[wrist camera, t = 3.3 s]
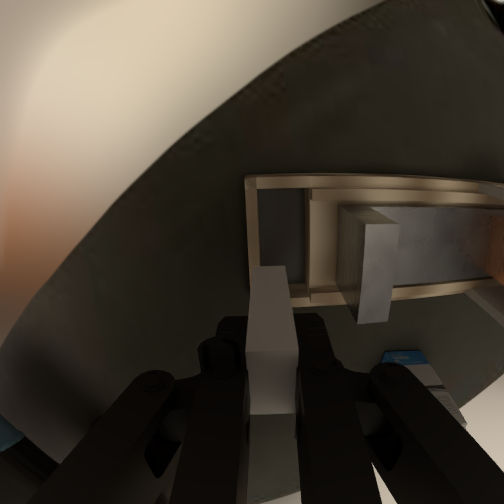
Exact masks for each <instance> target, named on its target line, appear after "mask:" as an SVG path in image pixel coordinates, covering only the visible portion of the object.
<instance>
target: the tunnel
mask: <svg viewBox="0 0 504 504" xmlns="http://www.w3.org/2000/svg"><path fill="white" fill-rule="evenodd" d="M478 192H479V193H482V194H486V195H489V196H492V197H496V198H499V199H502V200H504V188H501V187H497V186H493V185H489V184H484V183H479V188H478ZM464 293H465V294H466V295H467V296H469V297H470V298H471V299H472V300H473V301H475V302H476V303H477V304H478V305H479V306H480V307H482V308H483V309H484V310H485V311H486V312H487V313H488V314H490V315H491V316H492V317H493V318H494V319H495V320H496V321H497V322H498V323H500V324H501V325H502V326H503V327H504V285H498V286H491V287H484V288H476V289H469V290H465V291H464Z"/></svg>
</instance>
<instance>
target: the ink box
mask: <svg viewBox="0 0 504 504" xmlns="http://www.w3.org/2000/svg"><path fill="white" fill-rule="evenodd" d="M384 362H395V363H399V364H401V365H404V366H405V367H407V368H408V369H409V370H410V371H411V372H412V373H413V374H414V375H415V376H416V377H417V378H418V379H419V380H420V381H421V382H422V383H423V384H424V385H425V387H426V388H427V389H428V390H429V391H430V392H431V393H432V394H433V395H434V396H435V397H436V398H437V399H438V400H439V401H440V402H441V404H442V405H443V406H444V407H445V408H446V409H447V410H448V411H449V412H450V413H451V414H452V415H453V416H454V418H455V419H456V420H457V421H458V422H459V423H460V424H461V425H462V426H463V427H464V428H465V427H466V425H467V422H466V421H465V419H464V417H463V416H462V414H461V412H460V411H459V409H458V407H457V406H456V404H455V402H454V401H453V399H452V397H451V396H450V394H449V393H448V391H447V390H446V388H445V387H444V385H443V383H442V382H441V380H440V379H439V377H438V376H437V374H436V373H435V371H434V370H433V368H432V367H431V365H430V364H429V362H428V361H427V359H426V358H425V356H424V355H423V354H422V352H421V351H391V352H385V353H384V356H383V359H382V361H381V363H384ZM465 430H466V428H465Z"/></svg>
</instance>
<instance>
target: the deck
mask: <svg viewBox="0 0 504 504" xmlns="http://www.w3.org/2000/svg"><path fill="white" fill-rule="evenodd" d="M479 183H484V184H489V185H493V186H497V187H501V188H504V183H497V182H488V181H479V180H469V179H458V178H446V177H432V176H416V175H396V174H367V173H284V174H254V175H246V176H245V198H246V218H247V237H248V257H249V276H250V293H251V282H252V270H253V267H255V266H285V269H286V275H287V281H288V287H289V293H290V299H291V305H292V307H308V306H326V305H342V304H346V302H345V300H344V298H343V296H342V294H341V292H340V290H339V289H338V287H337V285H336V271H337V249H338V214H339V205H439V206H469V207H491V208H504V200H502V199H499V198H496V197H492V196H489V195H486V194H482V193H479V192H478V188H479ZM498 285H503V284H502V283H500V282H499V281H497V280H496V279H495V278H493V277H492V276H488V277H479V278H470V279H460V280H450V281H440V282H429V283H417V284H405V285H393V290H392V297H391V301H392V300H403V299H413V298H423V297H432V296H441V295H449V294H457V293H464V291H465V290H469V289H476V288H484V287H491V286H498Z"/></svg>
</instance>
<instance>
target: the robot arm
mask: <svg viewBox="0 0 504 504" xmlns="http://www.w3.org/2000/svg"><path fill="white" fill-rule="evenodd" d="M197 350H198V355H199V361H200V367H201V373H200V374H198V375H196V376H194V377H190V378H185V379H180V380H175V379H174V377H173V376H172V375H171V374H170V373H168V372H166V371H162V370H152V371H147V372H144V373H142V374H140V375H139V376H138V377H136V378H135V379H134V380H133V381H132V383H131V384H130V385H129V386H128V387H127V388H126V389H125V391H124V392H123V393H122V394H121V395H120V396H119V397H118V399H117V400H116V401H115V402H114V403H113V404H112V405H111V407H110V408H109V409H108V410H107V411H106V412H105V413H104V415H103V416H102V417H101V418H98V419H97V420H95V421H94V422H93V424H92V426H91V428H90V430H89V432H88V433H87V434H86V435H85V436H84V437H83V439H82V440H81V441H80V442H79V443H78V444H77V446H76V447H75V448H74V449H73V450H72V451H71V452H70V454H69V455H68V456H67V457H66V458H65V459H64V461H63V462H62V463H61V464H59V463H57V462H56V461H55V460H53V459H52V458H51V457H49V456H48V455H47V454H46V453H45V452H43V451H42V450H41V449H40V448H38V447H37V446H36V445H35V444H34V443H33V442H31V441H30V440H29V439H28V438H27V437H26V436H25V434H24V433H23V432H21V431H19V430H17V429H16V428H15V427H14V426H13V425H12V424H11V423H10V422H8V421H7V420H6V419H5V418H4V417H3V416H2V415H1V414H0V504H246V503H247V484H248V465H249V445H250V414H288V413H295V410H296V426H295V439H296V438H297V448H298V461H299V474H300V488H301V503H302V504H382V501H381V497H380V493H379V489H378V485H377V481H376V477H375V474H374V469H373V466H372V463H373V465H374V467H375V468H376V470H377V472H378V473H379V475H380V476H381V478H382V480H383V481H384V483H385V484H386V486H387V488H388V489H389V491H390V493H391V494H392V496H393V497H394V499H395V501H396V503H397V504H504V472H503V471H502V470H501V469H500V468H499V466H498V465H497V464H496V463H495V462H494V461H493V460H492V458H490V456H489V455H488V454H487V453H486V452H485V451H484V450H483V448H482V447H481V446H480V445H479V444H478V443H477V442H476V441H475V439H474V438H473V437H472V436H471V435H470V434H469V433H468V432H467V431H466V430H465V428H464V427H463V426H462V425H461V424H460V423H459V422H458V421H457V420H456V419H455V418H454V416H453V415H452V414H451V413H450V412H449V411H448V410H447V409H446V408H445V407H444V406H443V405H442V404H441V402H440V401H439V400H438V399H437V398H436V397H435V396H434V395H433V394H432V393H431V392H430V391H429V390H428V389H427V388H426V387H425V385H424V384H423V383H422V382H421V381H420V380H419V379H418V378H417V377H416V376H415V375H414V374H413V373H412V372H411V371H410V370H409V369H408V368H407V367H405V366H404V365H401V364H399V363H395V362H384V363H380V364H378V365H376V366H374V367H373V368H372V370H371V371H370V374H369V373H361V372H354V371H350V370H348V369H345V368H344V366H343V365H342V363H341V361H339V360H338V359H336V358H335V356H334V353H333V349H332V346H331V343H330V340H329V336H328V333H327V330H326V327H325V324H324V320H323V319H322V318H321V317H320V316H319V315H318V314H317V313H302V314H293V311H292V305H291V299H290V293H289V287H288V281H287V275H286V269H285V266H255V267H253V270H252V282H251V293H250V304H249V316H228V317H224V318H223V319H222V320H221V321H220V322H219V323H218V327H217V331H216V335H215V337H212V338H209V339H206V340H205V341H204V342H202V343H201V344H200V345H199V347H198V348H197Z"/></svg>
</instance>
